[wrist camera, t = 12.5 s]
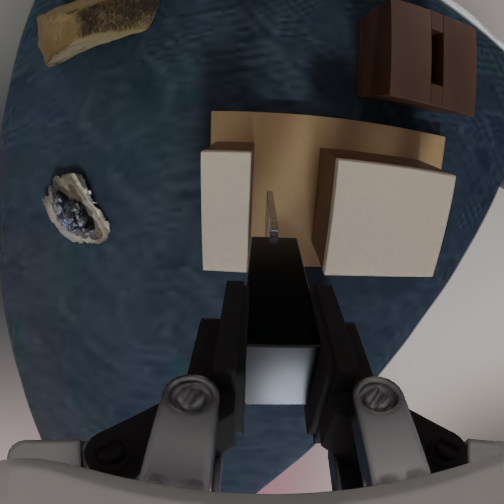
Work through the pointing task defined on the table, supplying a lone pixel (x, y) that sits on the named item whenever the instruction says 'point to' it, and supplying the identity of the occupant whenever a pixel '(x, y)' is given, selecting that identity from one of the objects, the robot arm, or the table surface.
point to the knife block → (417, 59)
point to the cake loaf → (379, 214)
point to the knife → (279, 320)
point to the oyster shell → (75, 210)
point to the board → (308, 160)
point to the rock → (90, 25)
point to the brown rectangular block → (227, 205)
